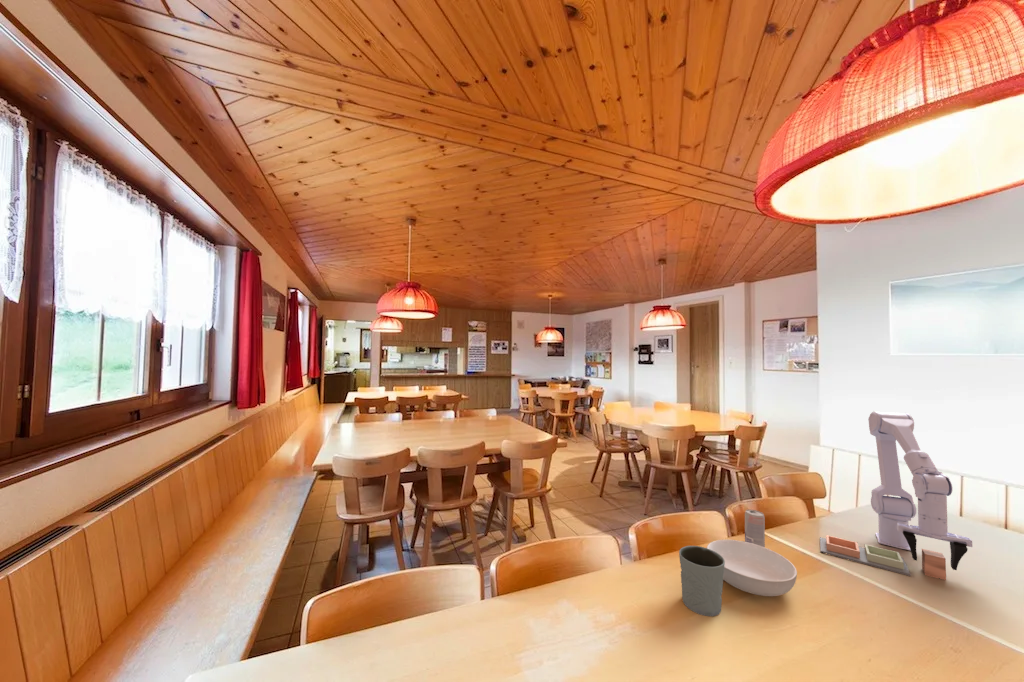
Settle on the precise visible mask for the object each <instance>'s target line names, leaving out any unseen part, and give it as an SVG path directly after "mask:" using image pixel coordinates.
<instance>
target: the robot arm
mask: <svg viewBox="0 0 1024 682" xmlns="http://www.w3.org/2000/svg"><path fill="white" fill-rule="evenodd" d="M914 420H915V419H914V418H913V417H912V416H911V414H910V413H907V412H904V413H901V412H886V411H883V412H881V411H874V410H873V411H872V412H870V414H869V417H868V428H869V429H868V430H869V433H870V435H871V436H873V437H875V442H876V452H877V458H878V459H877V460H878V466H879V467H878V469H879V475H880V485H879V486H877V487H875V488H873V489H872V490H871V496H870V497H871V498H870V506H871V508H872V510H873V511H874V512H875V513H876V514H877V515H878V517H877V518H878V532H875V536H876V540H877V543H878V544H880V545H885V546H889V547H893V548H897V549H901V550H905V551H906V550H907V551H910V553H911V558H912V560H913V561H918V556H917V555H918V553H917V540H918V539H917V538H916V536H921V537H927V538H930V539H935V540H939V541H944V542H949V548H950V568H951V569H952V570H953V571H957V569H958V565H959V563H960V561H961V559H962V558H963V557H964V556H965V554H967V552H968V550H969V548H973V540H972V538H970V537H967V536H964V535H963V536H962V535H959V534H955V533H952V532H949V531H948V499H947V498H948V497H950V496H951V495H952V493H953V484H952V482H951V480H950V477H948V476H947V475H946V474H944V473H943V472H942V471H939V470H938V468H937V467H936V465H935V464H934V462H933V460H932V459H931V457H930V456H929V454H928V453H926V452H924V451H922V450H921V448H920V446H919V444H918V442H917V439H916V437H915V435H914V429H915V421H914ZM897 443H898V444H899V446H900V447H901V448H902V450H903V452H904V453H905V454H904V455H903V460H904V462H905V464H906V465H907V467H908V469H909V471H910V473H911V475H912V479H911V482H912V487H913V489H914V495H915V497H916V498H917V507H916V504H915V503H914V499H913V496H912V494H911V493H909V492H907V491H906V490H905V489H903V488H902V479H901V474H900V466H899V465H900V464H899V457H898V451H897V450H898V448H897ZM915 516H917V517H918V518H917V519H918V520H917V521H918V523H917V525H912V524H909V521H910V522H911V521H912V519H913V518H914V517H915ZM968 547H969V548H968Z"/></svg>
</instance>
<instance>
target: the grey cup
mask: <svg viewBox="0 0 1024 682" xmlns="http://www.w3.org/2000/svg"><path fill="white" fill-rule="evenodd" d="M678 553H679V555H678V557H679V564H680V579H681V581H680V583H681V597H682V602H683V604H684V605H685V607H687V609H689V610H690V611H692V612H693V613H695V614H698V615H701V616H705V617H716V616H719V615H720V614H721V612H722V604H723V603H722V602H723V599H722V594H723V587H724V586H723V585H724V580H723V573H724V565H725V560H724V558H723V557H722V556H721V555H720V554H718V553H717V552H715V551H713V550H710V549H708V548H707V547H705V546H699V545H686V546H683V547H681V548H680V549H679V551H678Z"/></svg>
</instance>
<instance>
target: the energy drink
mask: <svg viewBox="0 0 1024 682" xmlns="http://www.w3.org/2000/svg"><path fill="white" fill-rule="evenodd" d="M765 520H766V519H765V514H764V513H763V512H761V511H759V510H756V509H746V510H745V512H744V542H749V543H753V544H756V545H759V546H762V547H765V548H766V544H765V543H766V542H765V541H766V538H765V537H766V533H765V532H766V530H765V529H766V525H765V523H766V522H765Z"/></svg>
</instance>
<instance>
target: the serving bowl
mask: <svg viewBox="0 0 1024 682" xmlns="http://www.w3.org/2000/svg"><path fill="white" fill-rule="evenodd" d="M706 548H708V549H710V550H713V551H715V552H717V553H718V554H720V555H721V556H722V557H723V558H724V560H725V565H724V573H723V582H724V581H725V582H726V583H727V584H729V585H731V586H732V587H734V588H736V589H739V590H740V591H743V592H745V593H749V594H752V595H756V596H763V597H777V596H781V595H785V594H786V593H788V592H790V591H791V590H792V589H793V587H795V584H796V581H797V576H798V570H797V568H796V566H795V565H794V564H793V563H792V562H791V561H790V560H789V559H788V558H786V557H785V556H783V555H782V554H780V553H778V552H776V551H774V550H772V549H770V548H767V547H766V546H765V547H762V546H759V545H756V544H753V543H749V542H745V540H744V541H743V540H736V539H717V540H714V541H710V543H708V544H707V545H706Z"/></svg>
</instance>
